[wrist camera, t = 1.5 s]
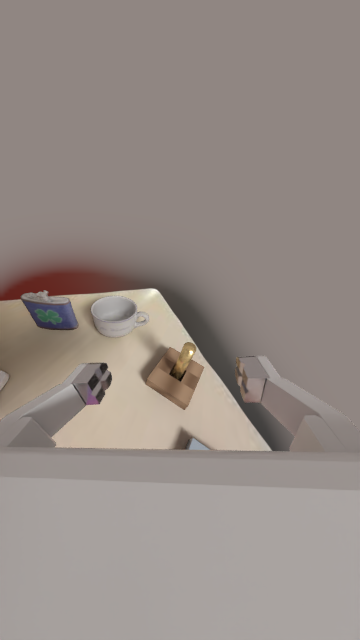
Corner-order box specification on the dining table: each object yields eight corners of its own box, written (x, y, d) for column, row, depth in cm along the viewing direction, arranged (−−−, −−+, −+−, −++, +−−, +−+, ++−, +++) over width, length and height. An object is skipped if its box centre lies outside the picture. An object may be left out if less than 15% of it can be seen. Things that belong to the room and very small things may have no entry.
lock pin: (168, 379, 35) (181, 348, 26) (173, 371, 37) (187, 340, 28) (177, 384, 34) (193, 355, 26) (181, 376, 36) (198, 346, 27)
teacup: (86, 335, 38) (79, 313, 33) (109, 310, 46) (107, 289, 41) (137, 351, 38) (138, 332, 33) (151, 324, 46) (154, 305, 41)
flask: (80, 323, 40) (68, 291, 33) (75, 331, 38) (62, 299, 31) (40, 320, 38) (19, 284, 31) (33, 328, 36) (9, 292, 29)
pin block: (145, 384, 33) (146, 378, 31) (168, 353, 40) (170, 346, 38) (184, 409, 31) (188, 405, 29) (200, 372, 38) (204, 367, 36)
